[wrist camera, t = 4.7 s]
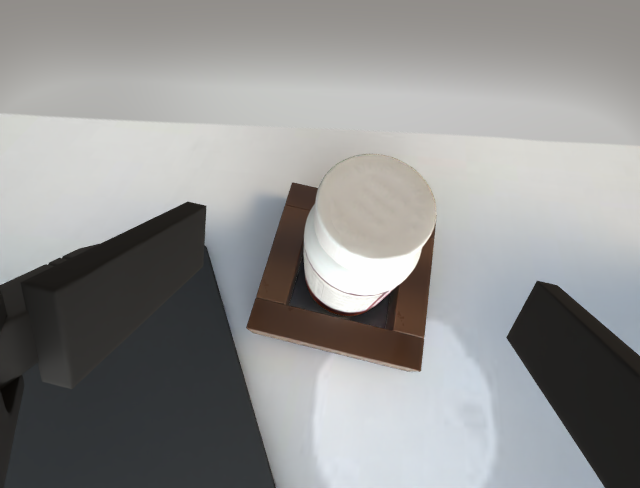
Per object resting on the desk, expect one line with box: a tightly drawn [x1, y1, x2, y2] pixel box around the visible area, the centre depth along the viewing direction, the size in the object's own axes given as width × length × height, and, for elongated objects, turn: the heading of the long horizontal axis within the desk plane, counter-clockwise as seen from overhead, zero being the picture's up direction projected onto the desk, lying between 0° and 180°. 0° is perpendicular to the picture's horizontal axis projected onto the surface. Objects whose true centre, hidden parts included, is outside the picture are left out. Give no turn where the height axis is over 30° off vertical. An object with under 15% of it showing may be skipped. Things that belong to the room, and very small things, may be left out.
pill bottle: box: [304, 154, 436, 316], centre depth 18 cm, size 6×6×11 cm
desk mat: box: [4, 246, 276, 488], centre depth 19 cm, size 20×16×1 cm
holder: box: [246, 183, 437, 372], centre depth 22 cm, size 11×11×2 cm
